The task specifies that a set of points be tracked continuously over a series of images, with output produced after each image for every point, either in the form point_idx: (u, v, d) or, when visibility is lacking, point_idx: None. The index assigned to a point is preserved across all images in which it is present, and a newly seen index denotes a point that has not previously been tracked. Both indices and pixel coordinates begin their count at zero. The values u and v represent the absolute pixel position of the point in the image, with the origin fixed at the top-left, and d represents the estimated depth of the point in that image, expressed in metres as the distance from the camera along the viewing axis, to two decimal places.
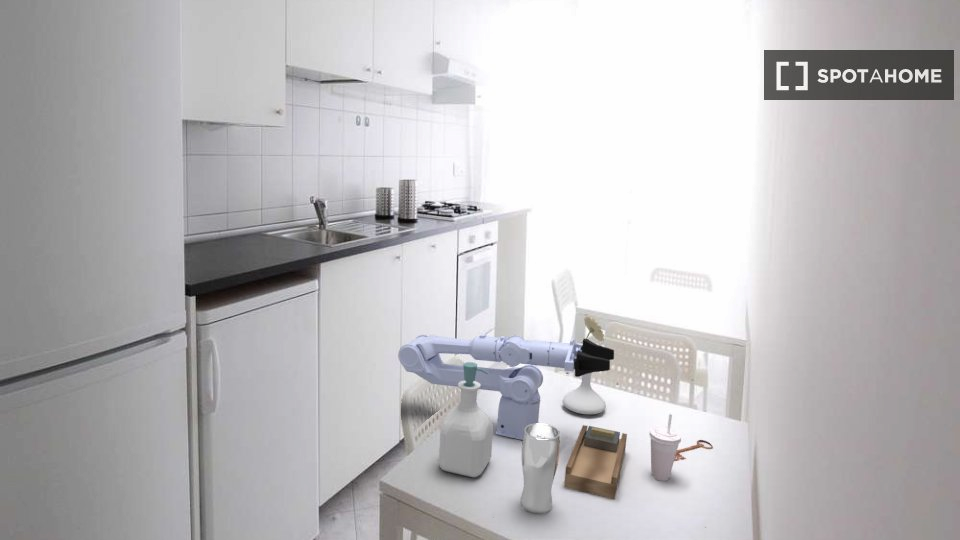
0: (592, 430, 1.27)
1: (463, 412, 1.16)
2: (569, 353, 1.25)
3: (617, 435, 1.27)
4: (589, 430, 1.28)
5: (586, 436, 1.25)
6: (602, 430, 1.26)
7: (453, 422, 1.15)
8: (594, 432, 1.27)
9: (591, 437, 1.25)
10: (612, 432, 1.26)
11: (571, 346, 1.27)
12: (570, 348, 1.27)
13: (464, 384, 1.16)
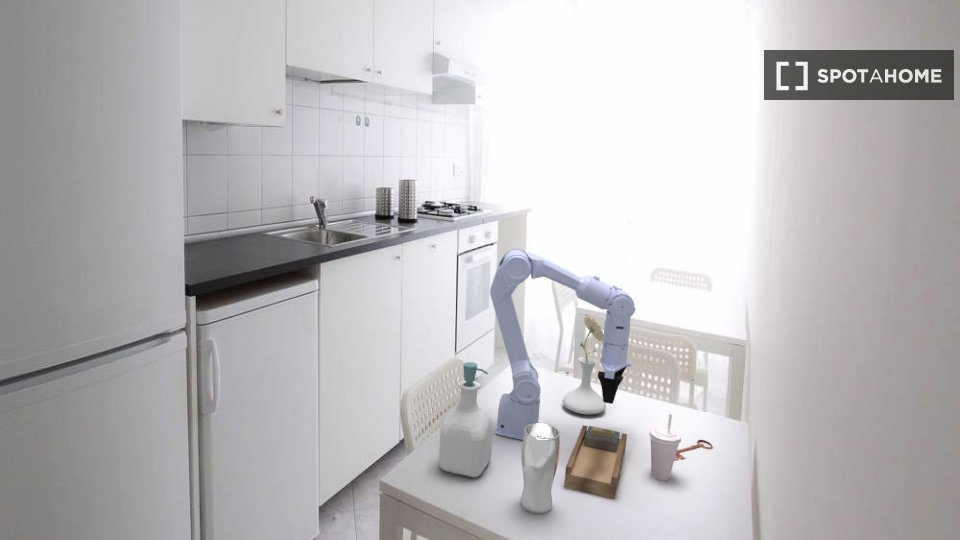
0: (592, 430, 1.27)
1: (463, 412, 1.16)
2: (619, 368, 1.28)
3: (617, 435, 1.27)
4: (589, 430, 1.28)
5: (586, 436, 1.25)
6: (602, 430, 1.26)
7: (453, 422, 1.15)
8: (594, 432, 1.27)
9: (591, 437, 1.25)
10: (612, 432, 1.26)
11: (624, 365, 1.30)
12: (623, 366, 1.30)
13: (464, 384, 1.17)
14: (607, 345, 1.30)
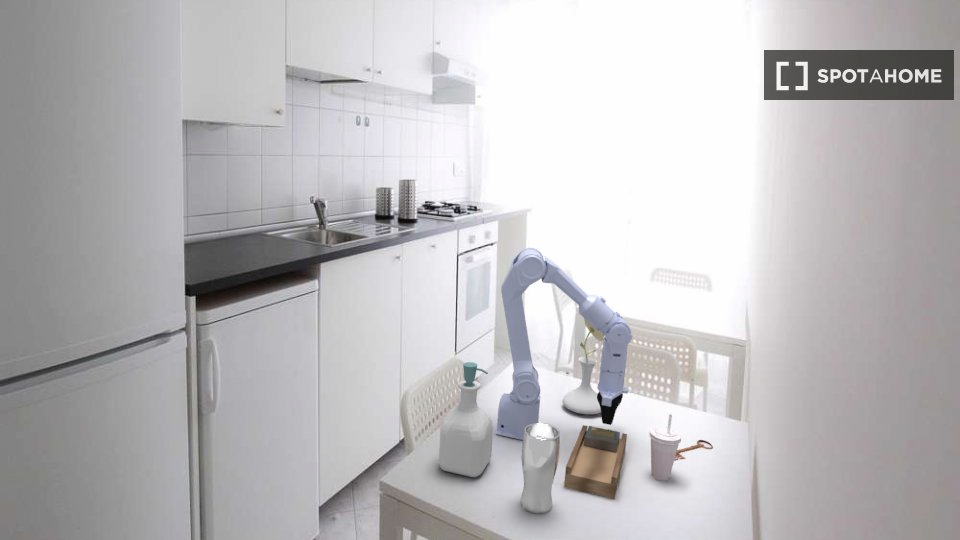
0: (592, 430, 1.27)
1: (463, 412, 1.16)
2: (616, 395, 1.29)
3: (617, 435, 1.27)
4: (589, 430, 1.28)
5: (586, 436, 1.25)
6: (602, 430, 1.26)
7: (453, 422, 1.15)
8: (594, 432, 1.27)
9: (591, 437, 1.25)
10: (612, 432, 1.26)
11: (622, 392, 1.31)
12: (620, 393, 1.31)
13: (464, 384, 1.17)
14: (604, 372, 1.31)
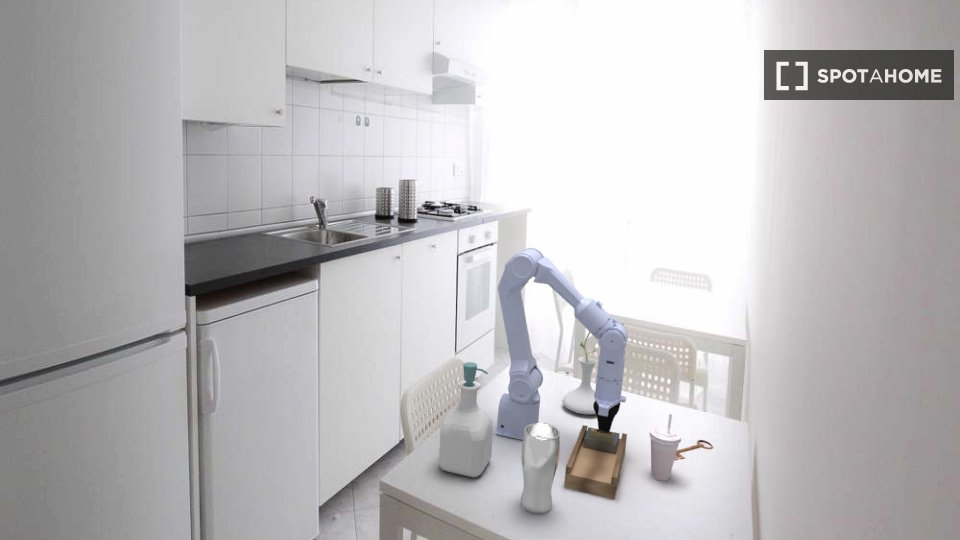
0: (592, 431, 1.26)
1: (463, 412, 1.16)
2: (614, 404, 1.24)
3: (617, 436, 1.26)
4: (588, 431, 1.28)
5: (585, 437, 1.25)
6: (602, 431, 1.26)
7: (453, 422, 1.15)
8: (594, 433, 1.26)
9: (591, 439, 1.24)
10: (612, 433, 1.25)
11: (619, 401, 1.26)
12: (617, 402, 1.25)
13: (464, 384, 1.17)
14: (601, 380, 1.26)
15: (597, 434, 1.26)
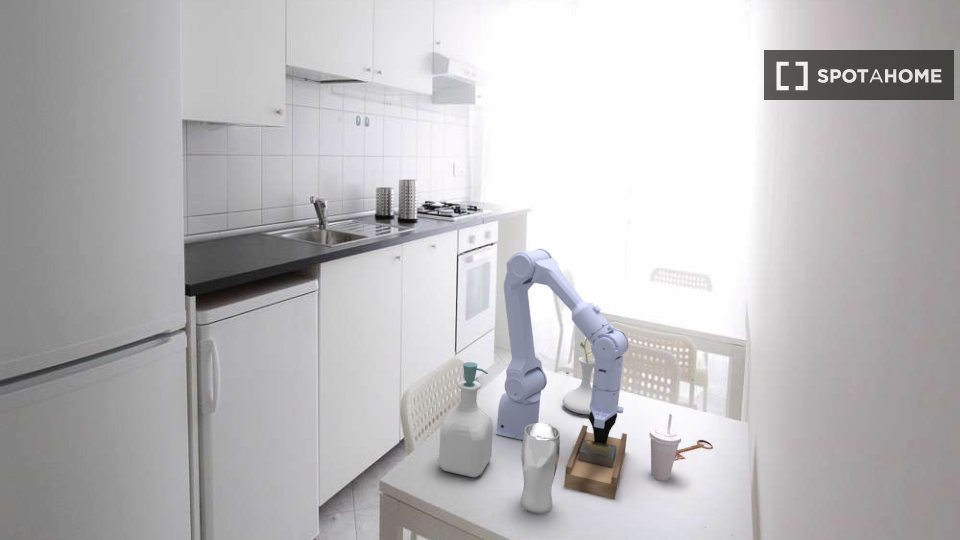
0: (587, 444, 1.20)
1: (463, 412, 1.16)
2: (610, 416, 1.18)
3: (613, 449, 1.20)
4: (584, 444, 1.22)
5: (581, 450, 1.19)
6: (597, 444, 1.20)
7: (453, 422, 1.15)
8: (589, 446, 1.20)
9: (586, 452, 1.18)
10: (608, 446, 1.19)
11: (616, 412, 1.20)
12: (614, 413, 1.20)
13: (464, 384, 1.17)
14: (597, 390, 1.20)
15: (593, 447, 1.20)
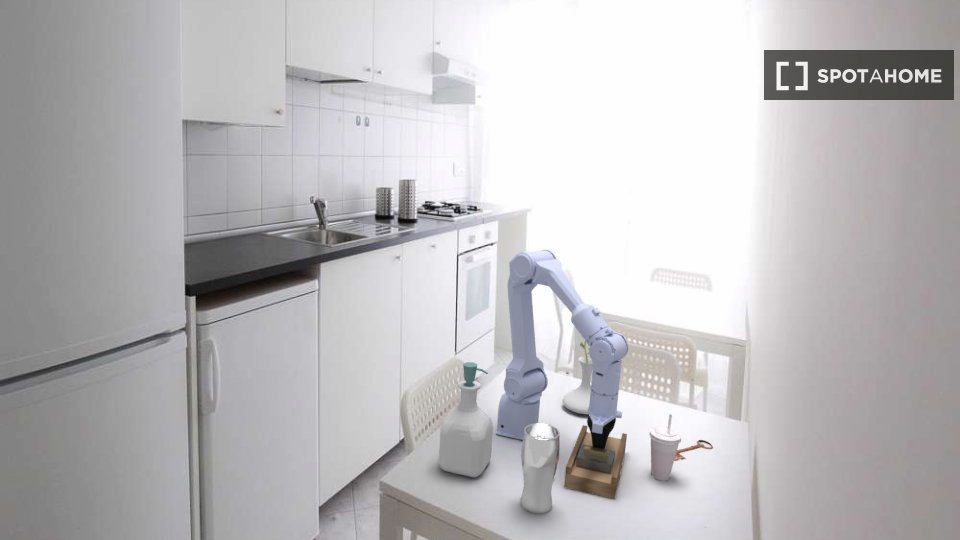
0: (585, 449, 1.18)
1: (463, 412, 1.16)
2: (608, 421, 1.16)
3: (612, 455, 1.18)
4: (582, 449, 1.20)
5: (578, 456, 1.17)
6: (596, 449, 1.18)
7: (453, 422, 1.15)
8: (587, 451, 1.18)
9: (584, 457, 1.16)
10: (606, 452, 1.17)
11: (614, 417, 1.18)
12: (613, 417, 1.17)
13: (464, 384, 1.17)
14: (595, 394, 1.18)
15: (591, 452, 1.18)
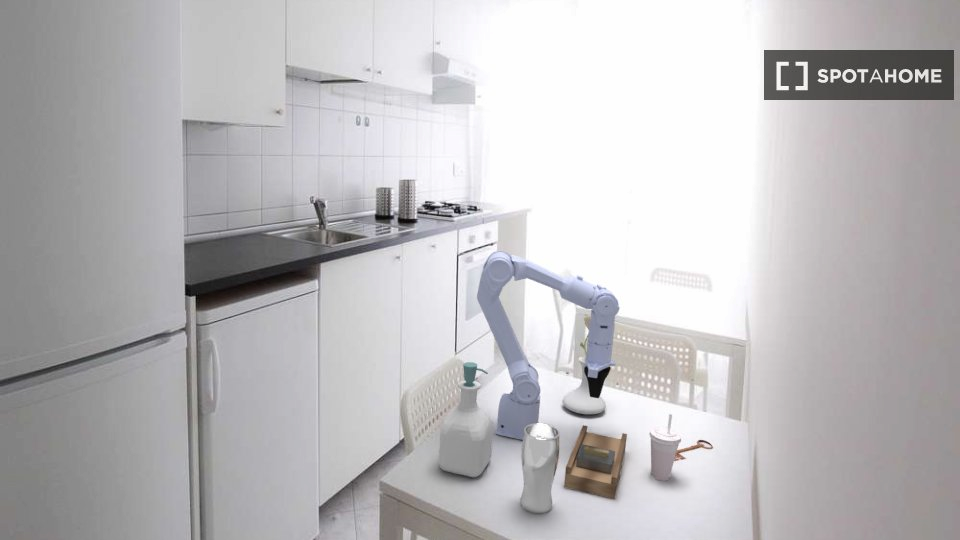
0: (585, 449, 1.18)
1: (463, 412, 1.16)
2: (603, 367, 1.28)
3: (612, 455, 1.18)
4: (582, 449, 1.20)
5: (578, 456, 1.17)
6: (596, 449, 1.18)
7: (453, 422, 1.15)
8: (587, 451, 1.18)
9: (584, 457, 1.16)
10: (606, 452, 1.17)
11: (609, 365, 1.30)
12: (607, 365, 1.29)
13: (464, 384, 1.17)
14: (591, 344, 1.30)
15: (591, 452, 1.18)
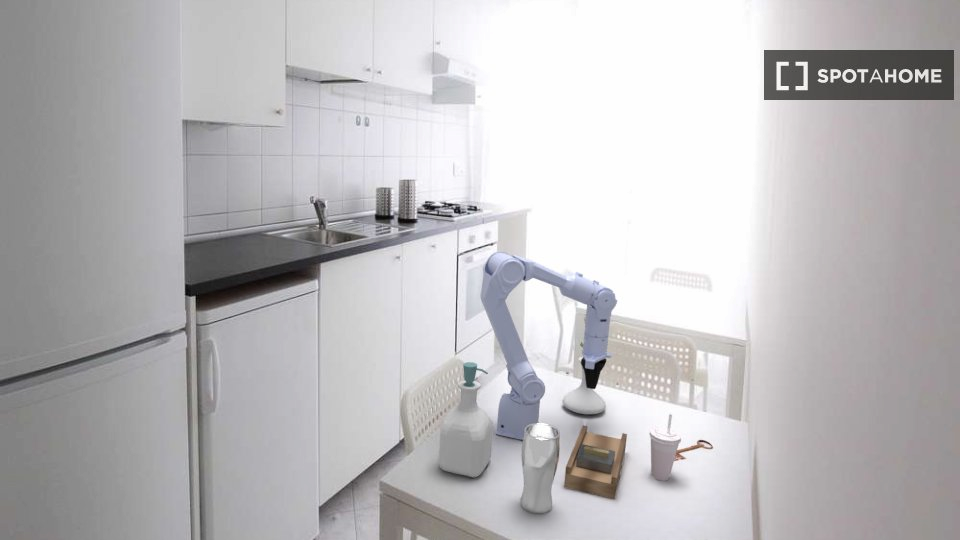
0: (585, 449, 1.18)
1: (463, 412, 1.16)
2: (599, 359, 1.33)
3: (612, 455, 1.18)
4: (582, 449, 1.20)
5: (578, 456, 1.17)
6: (596, 449, 1.18)
7: (453, 422, 1.15)
8: (587, 451, 1.18)
9: (584, 457, 1.16)
10: (606, 452, 1.17)
11: (605, 357, 1.35)
12: (603, 357, 1.35)
13: (464, 384, 1.17)
14: (588, 337, 1.35)
15: (591, 452, 1.18)
